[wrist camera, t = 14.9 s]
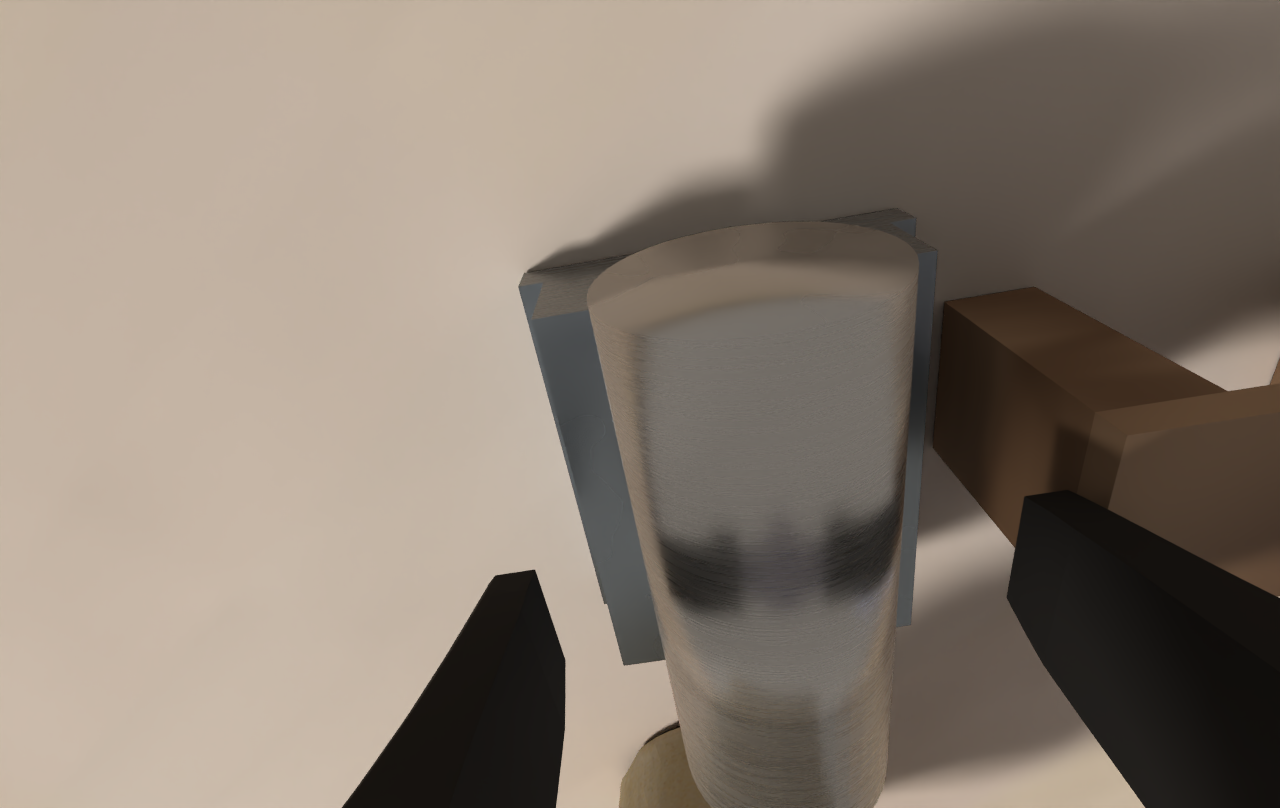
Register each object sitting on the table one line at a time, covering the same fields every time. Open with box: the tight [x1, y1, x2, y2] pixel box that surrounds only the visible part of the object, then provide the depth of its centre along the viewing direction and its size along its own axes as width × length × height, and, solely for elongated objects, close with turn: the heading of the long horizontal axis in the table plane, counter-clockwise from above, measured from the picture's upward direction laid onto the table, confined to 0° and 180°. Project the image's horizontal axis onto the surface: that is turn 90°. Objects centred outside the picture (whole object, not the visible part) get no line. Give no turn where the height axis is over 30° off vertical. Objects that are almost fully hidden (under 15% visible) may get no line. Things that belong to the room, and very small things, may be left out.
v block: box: [518, 208, 937, 665], centre depth 12 cm, size 7×8×3 cm
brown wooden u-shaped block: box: [933, 287, 1280, 596], centre depth 11 cm, size 9×4×5 cm, turn 99°
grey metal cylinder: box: [587, 221, 919, 808], centre depth 10 cm, size 10×4×4 cm, turn 9°
